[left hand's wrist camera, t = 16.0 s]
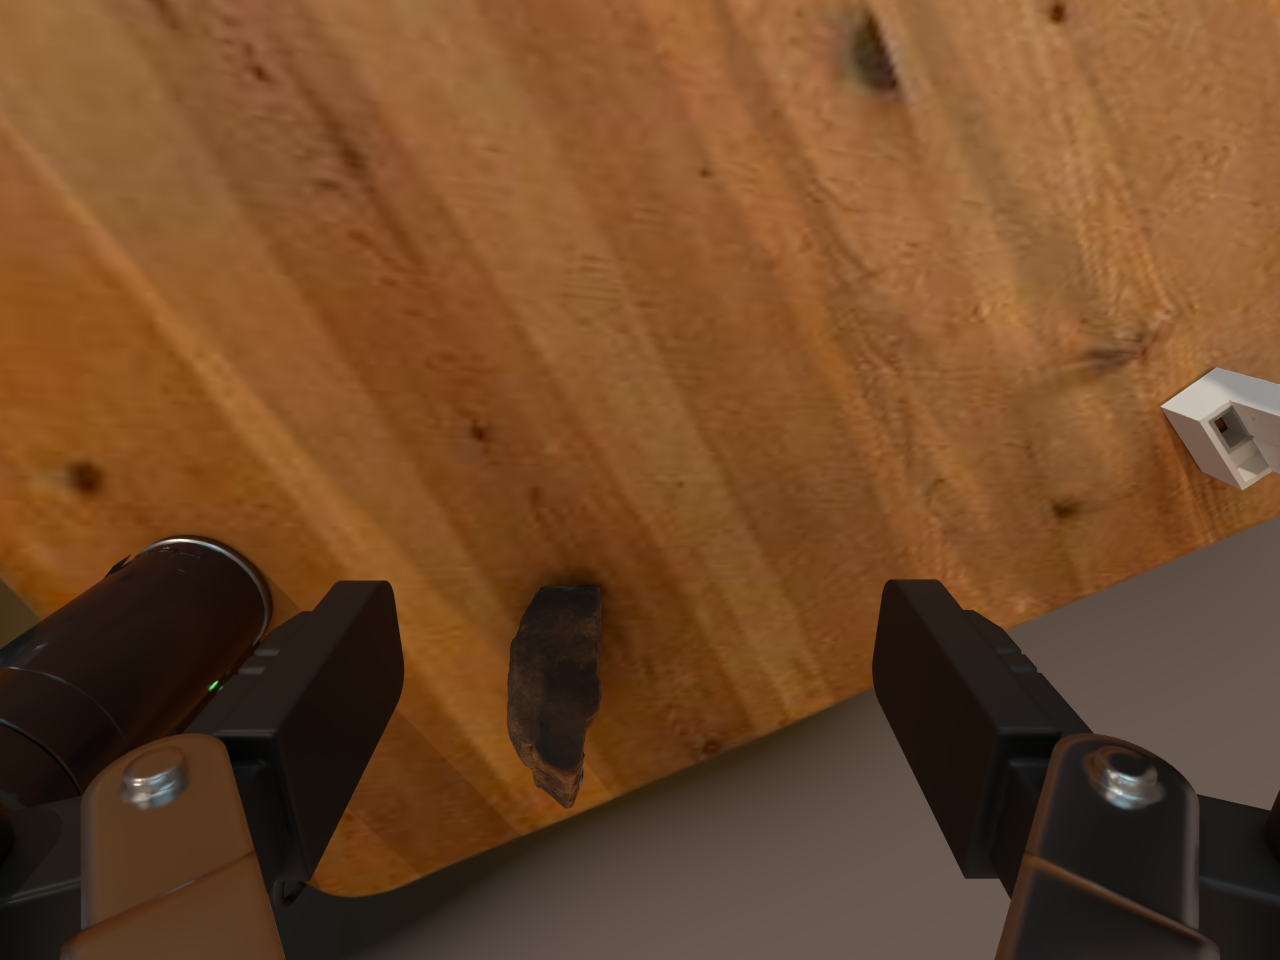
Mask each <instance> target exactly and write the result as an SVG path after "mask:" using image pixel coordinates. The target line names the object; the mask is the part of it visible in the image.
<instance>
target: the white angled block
mask: <svg viewBox="0 0 1280 960" xmlns="http://www.w3.org/2000/svg"><path fill="white" fill-rule="evenodd" d="M1160 407H1161V409H1162V410H1163V412H1164V413H1165V415H1166V416H1167V418H1168V419H1169V421H1170V423H1171V424H1172V426H1173V427H1174V429H1175V430H1176V432H1177V433H1178V435H1179V437H1180V438H1181V440H1182V441H1183V443H1184V444H1185V446H1186V447H1187V449H1188V451H1189V452H1190V454H1191V455H1192V457H1193V458H1194V460H1195V462H1196V463H1197V465H1198V466H1199V468H1200V469H1201V471H1202V472H1204V473H1206V474H1208V475H1210V476H1212V477H1215V478H1217V479H1219V480H1221V481H1223V482H1225V483H1228V484H1230V485H1232V486H1234V487H1236V488H1238V489H1241V490H1244V489H1245V488H1247V487H1248V486H1250V485H1252V484H1253V483H1255V482H1256V481H1258V480H1259V479H1261V478H1262V477H1264V476H1265V475H1267V474H1269V473H1270V472H1272V471H1273V472H1275V473H1278V474H1280V384H1276V383H1273V382H1269V381H1265V380H1262V379H1258V378H1254V377H1250V376H1247V375H1243V374H1239V373H1236V372H1232V371H1228V370H1224V369H1221V368H1217V367H1216V368H1215V369H1213V370H1212V371H1210V372H1209V373H1208V374H1206V375H1205V376H1203V377H1202V378H1200V379H1199V380H1198V381H1196V382H1195V383H1193V384H1192V385H1190V386H1189V387H1188V388H1186V389H1185V390H1183V391H1182V392H1180V393H1179V394H1178V395H1176V396H1175V397H1173V398H1172V399H1170V400H1169V401H1168V402H1166V403H1165V404H1163V405H1162V406H1160ZM1220 417H1221V418H1222V419H1223V421H1224V423H1225V424H1226V426H1227V428H1228V429H1227V430H1225V431H1224V432H1222V433H1220V431H1219V429H1218V428H1217V426H1216V425H1215V423H1214V422H1215V421H1216V420H1217V419H1219V418H1220Z"/></svg>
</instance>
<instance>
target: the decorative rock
mask: <svg viewBox="0 0 1280 960" xmlns="http://www.w3.org/2000/svg"><path fill="white" fill-rule="evenodd" d="M601 628H602V599H601V594H600V589H599V587H574V586H566V587H565V586H551V587H549V586H545V587H541V588H540V590H539V592H537V593H536V595H535V597H534V599H533V601H532V602H531V604H530V605H529V606H528V608H527V610H526V612H525V614H524V615H523V617H522V620H521V621H520V628H519V630H518V632H517V635H516V637H515V638H514V639H513V640H512V643H511V648H510V665H509V673H508V683H507V684H508V705H507V727H508V734H509V737H510V740H511V742H512V744H513V747H514V749H515V751H516V753H517V754H518V756H519V758H520V759H521V761H522V762H523V763H524V765H525V766H527V767H529V768H530V769H531V770H532V772H533V777H534V782H535V785H536V786H537V787H538V788H542V789H543V790H544V791H545V792H546V793H548V794H549V795H551V796H552V797H553V798H554V799H555V800H556V801H557V802H558V803H559V804H561V805H562V806H563V807H565V808H566V809H567V808H571V807H572V806H573V804H574V802H575V799H576V796H577V793H578V791H579V789H580V787H581V785H582V783H583V763H584V760H583V759H584V756H585V755H584V753H583V746H584V741H585V734H586V730H587V729H588V728H589V727H590V726H591V724H592V722H593V719H594V718H595V717H596V716H597V714H598V713H599V706H600V701H601V681H600V679H599V677H598V674H599V669H600V654H601V649H602V635H601Z"/></svg>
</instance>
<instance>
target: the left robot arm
mask: <svg viewBox="0 0 1280 960" xmlns="http://www.w3.org/2000/svg"><path fill="white" fill-rule="evenodd" d="M130 555H131V554H130ZM130 555H129V556H130ZM129 556H128V557H126V558H125V559H123V560H122V561H120V562H119V563H117V564H116V565H114V566H113V567H112V569H111V570H110V571H109V572H108V574H107V575H106V576H105V577H104V579H102V580H101V581H99V582H98V583H97V584H95V585H94V586H92V587H91V588H89V589H88V590H86V591H85V592H83V593H82V594H80V595H79V596H78V597H76V598H75V599H73V600H72V601H70V602H69V603H67V604H66V605H64V606H63V607H61V608H60V609H58V610H57V611H56V612H54V613H53V614H51V615H50V616H48V617H47V618H45V619H44V620H42V621H41V622H39V623H38V624H36V625H35V626H34V627H32V628H31V629H29V630H28V631H26V632H25V633H23V634H22V635H20V636H19V637H17V638H16V639H14V640H13V641H12V642H10V643H9V644H7V645H6V646H4V647H3V648H1V649H0V960H285V956H284V953H283V949H282V945H281V942H280V938H279V935H278V931H277V927H276V924H275V920H274V917H273V913H272V909H271V906H270V902H269V899H268V893H269V891H270V889H271V888H272V886H273V901H274V904H275V906H276V907H279V908H285V907H288V906H290V905H291V904H292V903H293V902H294V901H295V900H296V899H297V898H298V896H299V895H300V894H301V892H302V891H303V889H304V888H305V886H306V885H307V883H305V882H304V881H310V879H311V877H312V875H313V873H314V871H315V869H316V867H317V865H318V863H319V861H320V859H321V857H322V855H323V853H324V851H325V849H326V847H327V845H328V843H329V841H330V839H331V837H332V835H333V833H334V831H335V829H336V827H337V825H338V823H339V821H340V819H341V817H342V815H343V813H344V811H345V809H346V807H347V805H348V803H349V801H350V799H351V796H352V794H353V792H354V790H355V788H356V786H357V784H358V782H359V780H360V778H361V776H362V774H363V772H364V770H365V768H366V766H367V764H368V762H369V760H370V758H371V756H372V754H373V752H374V750H375V748H376V746H377V744H378V742H379V740H380V738H381V736H382V734H383V732H384V730H385V728H386V726H387V724H388V722H389V720H390V718H391V716H392V714H393V712H394V709H395V707H396V705H397V703H398V701H399V698H400V695H401V692H402V687H403V680H404V660H403V653H402V646H401V639H400V632H399V626H398V619H397V612H396V605H395V599H394V593H393V589H392V587H391V585H390V583H389V582H388V581H338V582H336V583H335V584H334V586H333V587H332V588H331V589H330V590H329V592H328V593H327V594H326V595H325V597H324V598H323V599H322V600H321V601H320V603H319V604H318V605H317V606H316V607H315V609H314V610H313V611H302V612H301V613H299V614H298V615H296V616H294V617H293V618H291V619H290V620H288V621H286V622H285V623H283V624H282V625H280V626H279V627H277V628H275V629H274V630H273V631H272V632H271V633H270V634H269V635H268V636H267V637H266V639H265V640H264V641H263V642H262V643H261V644H260V645H259V639H260V638H261V637H262V636H263V634H264V633H265V631H266V630H267V627H268V625H269V622H270V619H271V613H272V604H271V597H270V594H269V590H268V588H267V585H266V583H265V581H264V580H263V578H262V576H261V575H260V573H259V572H258V571H257V569H256V568H255V567H254V566H253V565H252V564H251V563H250V562H249V561H248V560H247V559H246V558H245V557H244V556H242V555H241V554H240V553H238V552H237V551H235V550H234V549H232V548H230V547H229V546H227V545H224V544H222V543H220V542H218V541H215V540H212V539H209V538H205V537H200V536H192V535H179V536H172V537H168V538H164V539H161V540H159V541H157V542H155V543H153V544H151V545H150V546H148V547H147V548H145V549H144V550H142V551H141V552H140V553H139V554H137V555H136V557H134V559H132V560H131V561H129V562H128V563H126V564H125V565H124V566H122V565H123V564H124V563H125V561H126V560H127V559H128V558H129ZM121 566H122V567H121ZM872 674H873V683H874V689H875V693H876V696H877V699H878V701H879V703H880V705H881V707H882V709H883V711H884V714H885V716H886V718H887V720H888V722H889V724H890V726H891V728H892V730H893V732H894V734H895V736H896V738H897V740H898V742H899V744H900V746H901V748H902V750H903V752H904V755H905V757H906V759H907V761H908V763H909V765H910V767H911V769H912V771H913V773H914V775H915V777H916V779H917V781H918V783H919V785H920V787H921V789H922V791H923V793H924V795H925V798H926V799H927V802H928V804H929V806H930V808H931V810H932V812H933V814H934V816H935V818H936V820H937V822H938V824H939V826H940V828H941V830H942V832H943V834H944V836H945V838H946V840H947V843H948V845H949V847H950V849H951V851H952V853H953V855H954V857H955V859H956V861H957V863H958V865H959V867H960V869H961V871H962V873H963V875H964V877H965V878H966V879H1000V881H1001V883H1002V884H1003V886H1004V888H1005V890H1006V892H1007V894H1008V895H1009V897H1010V899H1011V902H1010V906H1009V909H1008V913H1007V916H1006V920H1005V924H1004V927H1003V931H1002V935H1001V938H1000V942H999V945H998V949H997V953H996V956H995V960H1280V791H1279V793H1278V795H1277V798H1276V800H1275V802H1274V804H1273V807H1272V809H1271V811H1270V810H1265V809H1261V808H1256V807H1252V806H1247V805H1243V804H1238V803H1234V802H1229V801H1225V800H1221V799H1216V798H1211V797H1207V796H1203V795H1198V794H1196V793H1195V790H1194V789H1193V787H1192V786H1191V785H1190V783H1189V782H1188V781H1187V780H1186V778H1185V777H1184V776H1183V775H1182V774H1181V773H1180V772H1179V771H1177V770H1176V769H1175V768H1174V767H1173V766H1172V765H1170V764H1169V763H1167V762H1166V761H1165V760H1163V759H1162V758H1160V757H1158V756H1157V755H1155V754H1153V753H1152V752H1150V751H1148V750H1146V749H1144V748H1142V747H1140V746H1137V745H1135V744H1132V743H1130V742H1127V741H1124V740H1121V739H1118V738H1115V737H1110V736H1106V735H1100V734H1094V733H1093V732H1092V731H1091V730H1090V729H1089V727H1088V726H1087V725H1086V724H1085V723H1084V722H1083V720H1082V719H1081V718H1080V717H1079V716H1078V715H1077V714H1076V712H1075V711H1074V710H1073V709H1072V708H1071V707H1070V706H1069V704H1068V703H1067V702H1066V701H1065V700H1064V699H1063V698H1062V696H1061V695H1060V694H1059V693H1058V692H1057V691H1056V689H1055V688H1054V687H1053V686H1052V685H1051V684H1050V683H1049V681H1048V680H1047V679H1046V678H1045V677H1044V676H1043V675H1042V673H1037V668H1036V667H1035V665H1034V664H1033V663H1032V662H1031V661H1030V660H1029V659H1028V657H1027V656H1026V655H1025V654H1021V649H1020V648H1019V647H1018V646H1017V645H1016V644H1015V642H1014V641H1013V640H1012V639H1011V638H1010V637H1009V636H1008V634H1007V633H1006V632H1005V631H1004V630H1003V629H1002V628H1001V627H999V626H998V625H996V624H994V623H993V622H991V621H990V620H988V619H986V618H985V617H983V616H982V615H980V614H979V613H977V612H975V611H974V610H963V609H962V608H961V607H960V605H959V604H958V603H957V602H956V601H955V599H954V598H953V597H952V596H951V594H950V593H949V592H948V591H947V589H946V588H945V587H944V586H943V585H942V583H941V582H940V581H938V580H935V579H891V580H888V581H887V582H886V584H885V586H884V589H883V593H882V599H881V606H880V613H879V620H878V627H877V634H876V641H875V648H874V654H873V663H872ZM284 881H299V882H298V883H297V885H296V886H295V887H294V889H293V890H292V891H291V892H290V894H289V895H288V896H286V897H284ZM273 884H274V885H273Z"/></svg>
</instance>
